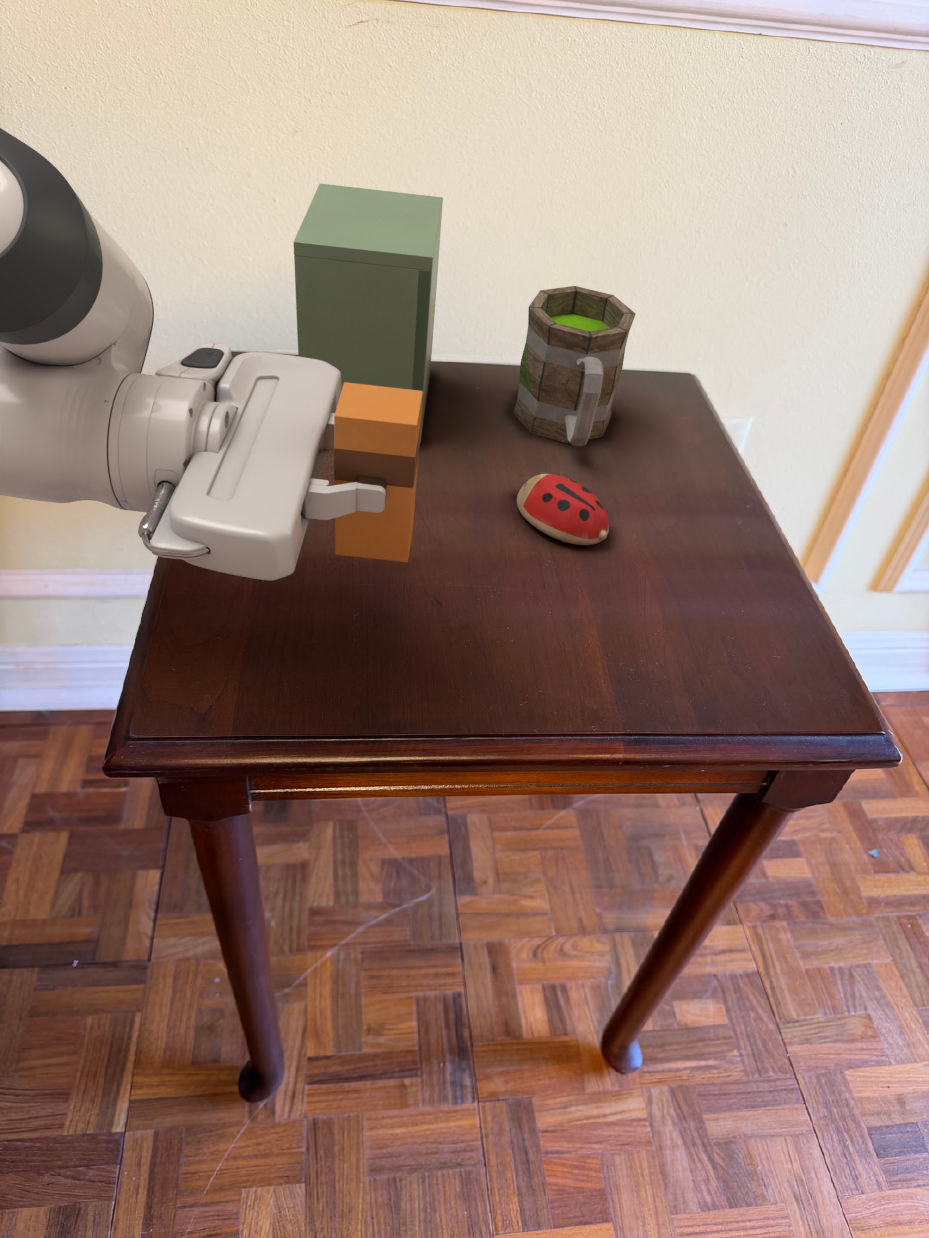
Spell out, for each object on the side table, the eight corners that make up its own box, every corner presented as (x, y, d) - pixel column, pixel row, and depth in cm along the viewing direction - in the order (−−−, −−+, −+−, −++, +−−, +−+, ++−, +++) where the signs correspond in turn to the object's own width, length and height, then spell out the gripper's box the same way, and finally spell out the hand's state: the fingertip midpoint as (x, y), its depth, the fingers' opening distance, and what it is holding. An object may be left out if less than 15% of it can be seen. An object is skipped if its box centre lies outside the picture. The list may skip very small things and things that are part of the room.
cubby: (301, 432, 90) (293, 241, 76) (323, 363, 100) (319, 183, 86) (420, 445, 90) (433, 257, 77) (430, 374, 100) (443, 197, 87)
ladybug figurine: (541, 483, 88) (547, 453, 85) (625, 530, 84) (633, 500, 81) (498, 512, 84) (503, 481, 81) (583, 563, 80) (591, 532, 77)
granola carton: (334, 555, 61) (333, 415, 53) (343, 518, 64) (343, 381, 56) (408, 563, 61) (417, 425, 54) (413, 526, 64) (423, 390, 57)
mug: (508, 386, 100) (523, 282, 92) (602, 391, 101) (625, 289, 93) (522, 469, 89) (540, 360, 81) (628, 474, 90) (657, 366, 82)
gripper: (117, 506, 49) (371, 533, 49) (213, 330, 63) (408, 352, 64) (136, 591, 53) (369, 615, 53) (221, 408, 68) (404, 428, 68)
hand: (390, 470), depth 59 cm, fingers closed on granola carton, 4 cm apart
